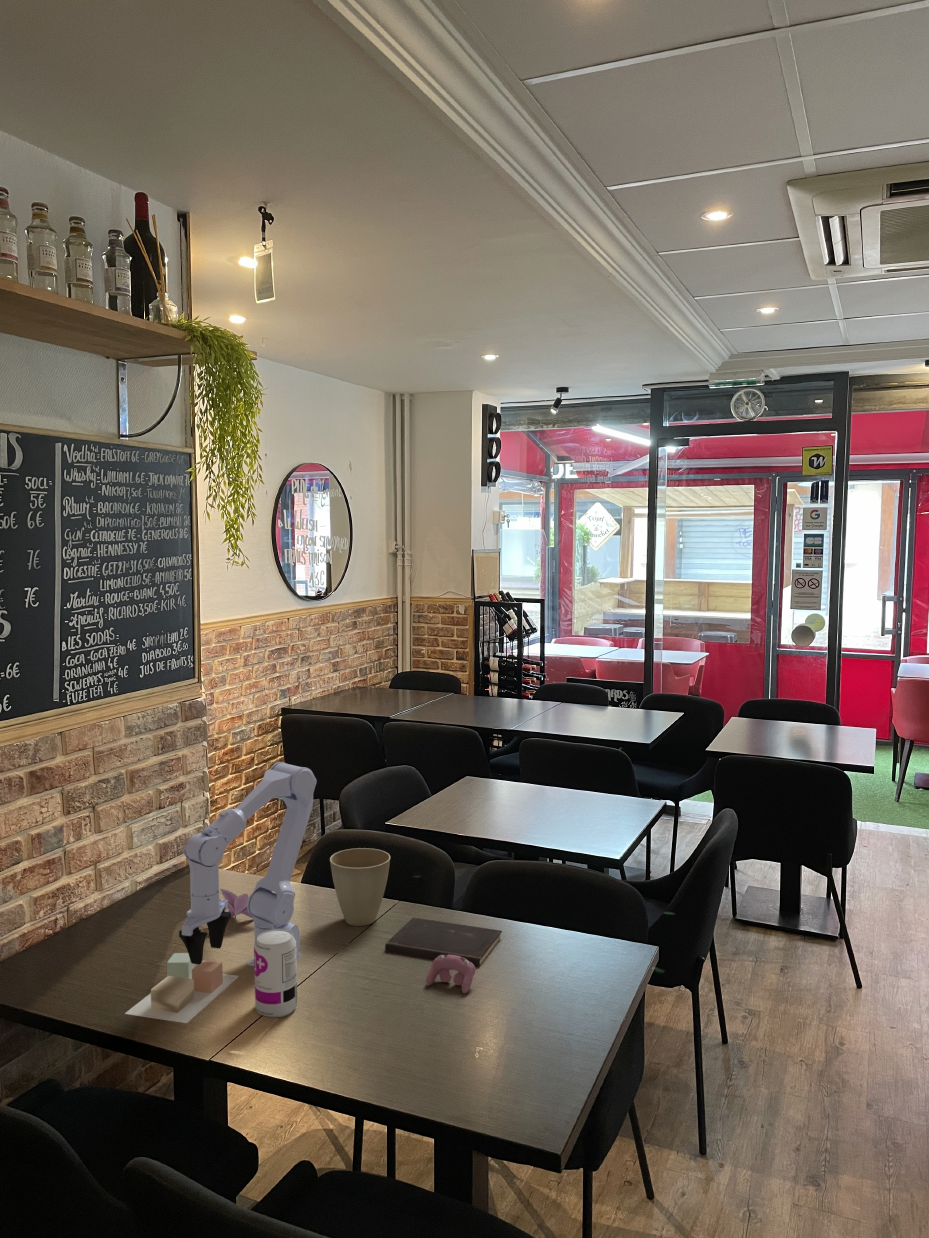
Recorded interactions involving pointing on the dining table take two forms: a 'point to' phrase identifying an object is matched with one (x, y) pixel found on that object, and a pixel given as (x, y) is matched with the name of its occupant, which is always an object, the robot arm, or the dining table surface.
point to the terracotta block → (207, 976)
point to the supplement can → (275, 973)
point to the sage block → (180, 966)
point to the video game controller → (452, 962)
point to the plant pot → (360, 883)
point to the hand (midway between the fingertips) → (206, 955)
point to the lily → (236, 904)
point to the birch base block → (172, 994)
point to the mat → (188, 1011)
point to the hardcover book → (443, 940)
